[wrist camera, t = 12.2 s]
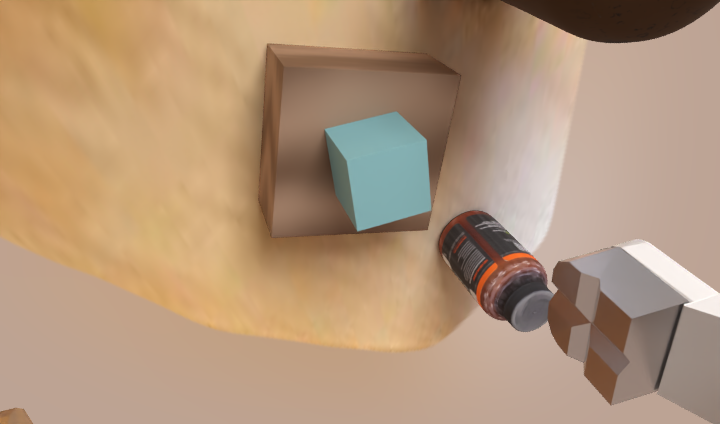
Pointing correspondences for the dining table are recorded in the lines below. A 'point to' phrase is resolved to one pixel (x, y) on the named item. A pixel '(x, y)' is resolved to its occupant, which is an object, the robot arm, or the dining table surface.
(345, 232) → the walnut block
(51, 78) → the dining table surface
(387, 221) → the teal cube
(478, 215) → the supplement bottle
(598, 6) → the olive oil
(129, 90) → the dining table surface
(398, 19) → the dining table surface
